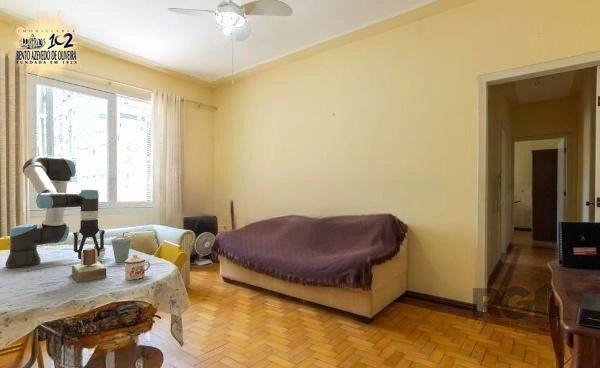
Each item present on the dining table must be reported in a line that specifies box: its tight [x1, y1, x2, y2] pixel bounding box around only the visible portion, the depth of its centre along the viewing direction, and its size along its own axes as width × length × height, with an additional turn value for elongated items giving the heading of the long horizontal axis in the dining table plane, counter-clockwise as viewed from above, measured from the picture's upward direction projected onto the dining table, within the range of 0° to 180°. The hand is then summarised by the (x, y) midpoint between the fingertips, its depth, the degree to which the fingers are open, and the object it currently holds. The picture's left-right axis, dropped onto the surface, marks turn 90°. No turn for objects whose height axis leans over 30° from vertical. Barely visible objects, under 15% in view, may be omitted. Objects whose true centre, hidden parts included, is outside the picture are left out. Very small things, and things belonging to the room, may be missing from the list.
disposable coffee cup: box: [110, 235, 132, 263], centre depth 187 cm, size 11×11×15 cm
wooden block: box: [82, 247, 95, 266], centre depth 157 cm, size 4×4×8 cm
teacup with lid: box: [124, 254, 151, 281], centre depth 155 cm, size 12×9×12 cm
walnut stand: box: [71, 261, 107, 283], centre depth 157 cm, size 18×12×5 cm, turn 43°
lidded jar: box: [87, 245, 106, 263], centre depth 186 cm, size 11×11×9 cm
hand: (88, 264), depth 157 cm, fingers closed on wooden block, 5 cm apart
